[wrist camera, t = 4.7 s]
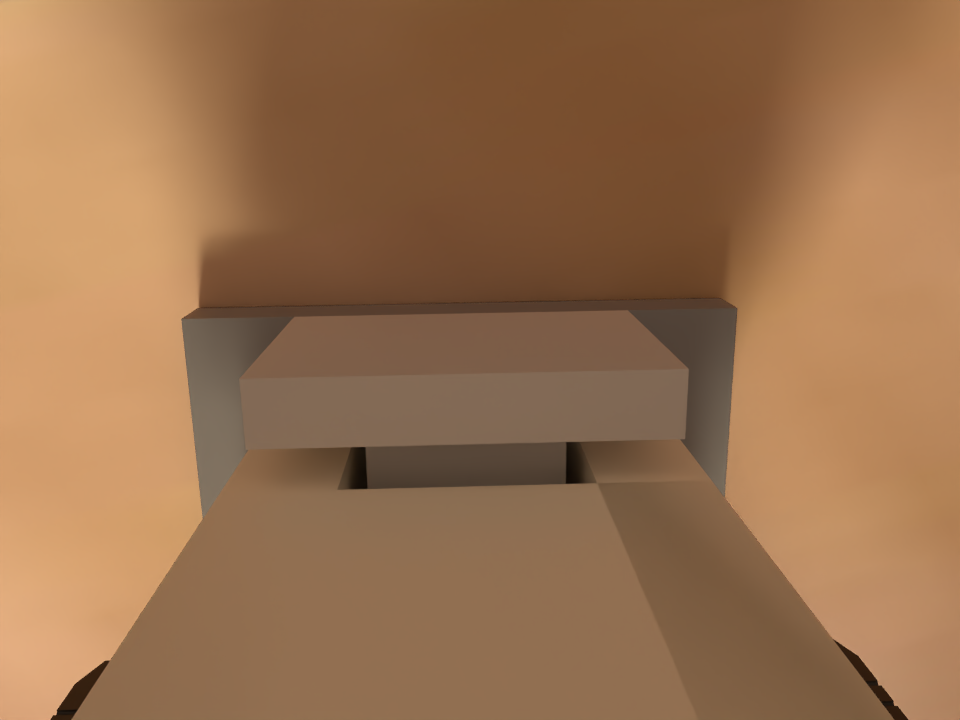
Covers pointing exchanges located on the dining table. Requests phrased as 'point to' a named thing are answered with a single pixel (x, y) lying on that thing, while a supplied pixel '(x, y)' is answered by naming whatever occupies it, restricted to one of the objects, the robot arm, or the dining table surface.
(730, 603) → the block
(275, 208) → the dining table surface
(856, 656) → the robot arm
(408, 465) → the grey slide base
